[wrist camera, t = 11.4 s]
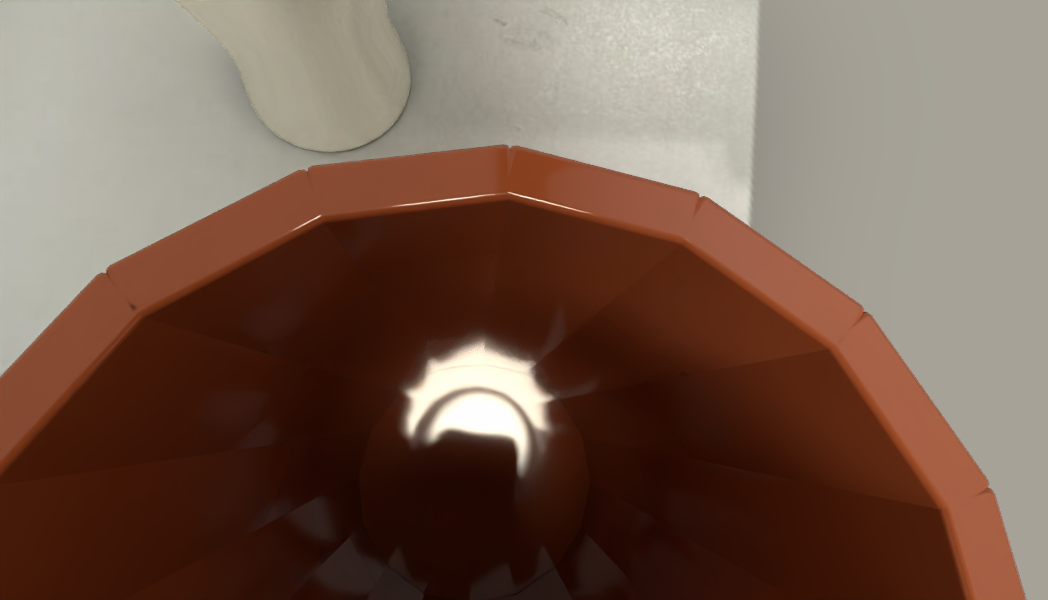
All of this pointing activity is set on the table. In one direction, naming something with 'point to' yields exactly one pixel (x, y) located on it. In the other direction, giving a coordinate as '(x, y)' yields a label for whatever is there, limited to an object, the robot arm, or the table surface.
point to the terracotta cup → (480, 408)
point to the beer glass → (314, 66)
